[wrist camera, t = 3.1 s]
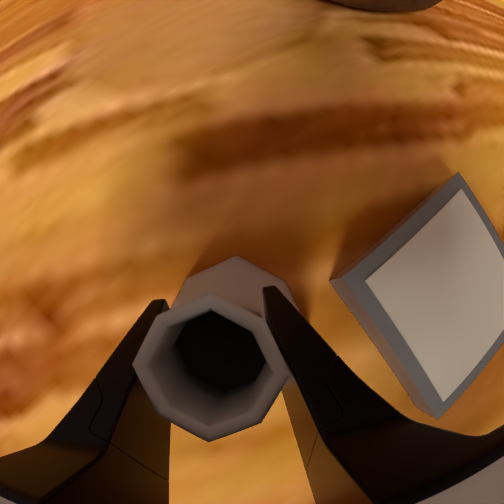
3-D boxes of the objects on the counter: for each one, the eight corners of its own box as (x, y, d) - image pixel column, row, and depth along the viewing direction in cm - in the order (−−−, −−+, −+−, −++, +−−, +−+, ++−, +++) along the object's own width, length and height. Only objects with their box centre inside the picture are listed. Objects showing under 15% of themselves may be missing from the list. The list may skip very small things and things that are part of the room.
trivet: (506, 302, 16) (531, 301, 13) (416, 407, 15) (438, 420, 12) (438, 185, 17) (459, 170, 15) (328, 280, 16) (342, 277, 14)
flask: (237, 232, 17) (218, 139, 7) (330, 329, 16) (431, 363, 6) (141, 322, 16) (19, 342, 6) (232, 418, 15) (212, 540, 5)
